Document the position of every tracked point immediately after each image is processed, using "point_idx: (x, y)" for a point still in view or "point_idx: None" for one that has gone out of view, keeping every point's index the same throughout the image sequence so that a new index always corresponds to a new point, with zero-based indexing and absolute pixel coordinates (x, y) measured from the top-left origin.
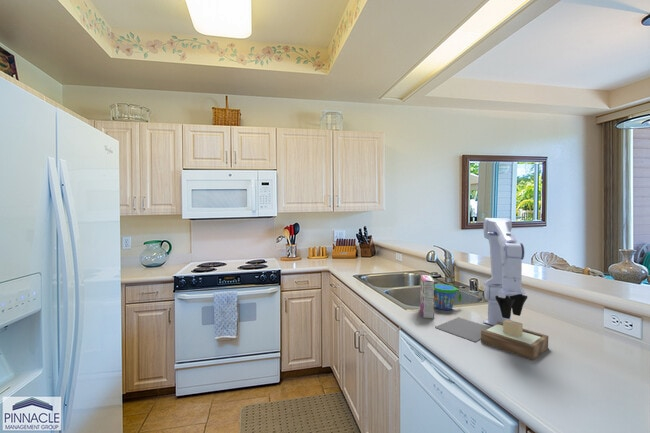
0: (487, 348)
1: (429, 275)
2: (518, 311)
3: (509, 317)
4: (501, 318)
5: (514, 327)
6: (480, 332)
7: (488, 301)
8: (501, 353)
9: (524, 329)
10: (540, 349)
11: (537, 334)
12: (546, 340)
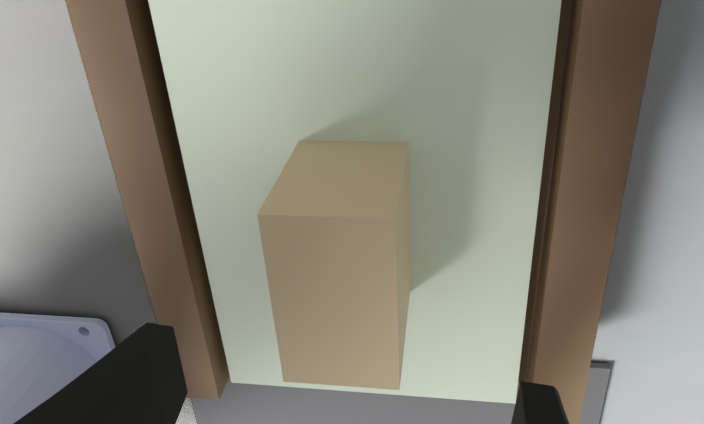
0: (667, 265)
1: None
2: (137, 390)
3: (543, 400)
4: (42, 397)
5: (399, 245)
6: (372, 398)
7: None
8: (693, 150)
9: (132, 178)
10: None
11: (133, 24)
12: None
